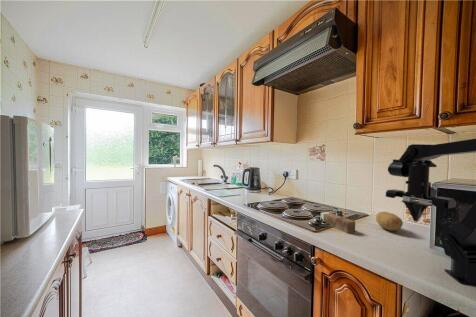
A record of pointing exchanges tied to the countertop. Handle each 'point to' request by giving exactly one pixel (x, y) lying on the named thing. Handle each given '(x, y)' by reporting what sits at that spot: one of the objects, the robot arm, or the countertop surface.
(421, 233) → the countertop surface
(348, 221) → the walnut block
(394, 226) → the potato
